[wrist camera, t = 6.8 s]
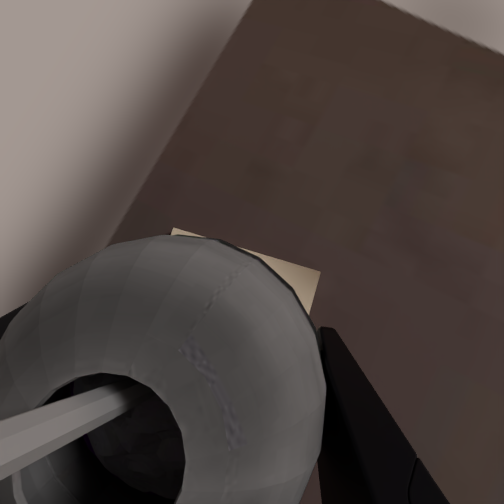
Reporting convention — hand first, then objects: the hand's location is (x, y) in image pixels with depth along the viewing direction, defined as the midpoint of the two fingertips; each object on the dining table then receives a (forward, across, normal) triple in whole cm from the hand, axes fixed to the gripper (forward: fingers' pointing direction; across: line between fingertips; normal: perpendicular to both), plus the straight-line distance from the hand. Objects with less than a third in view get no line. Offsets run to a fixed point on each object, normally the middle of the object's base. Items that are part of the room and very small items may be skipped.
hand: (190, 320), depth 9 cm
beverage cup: (+7, 0, +9) cm, 11 cm away
